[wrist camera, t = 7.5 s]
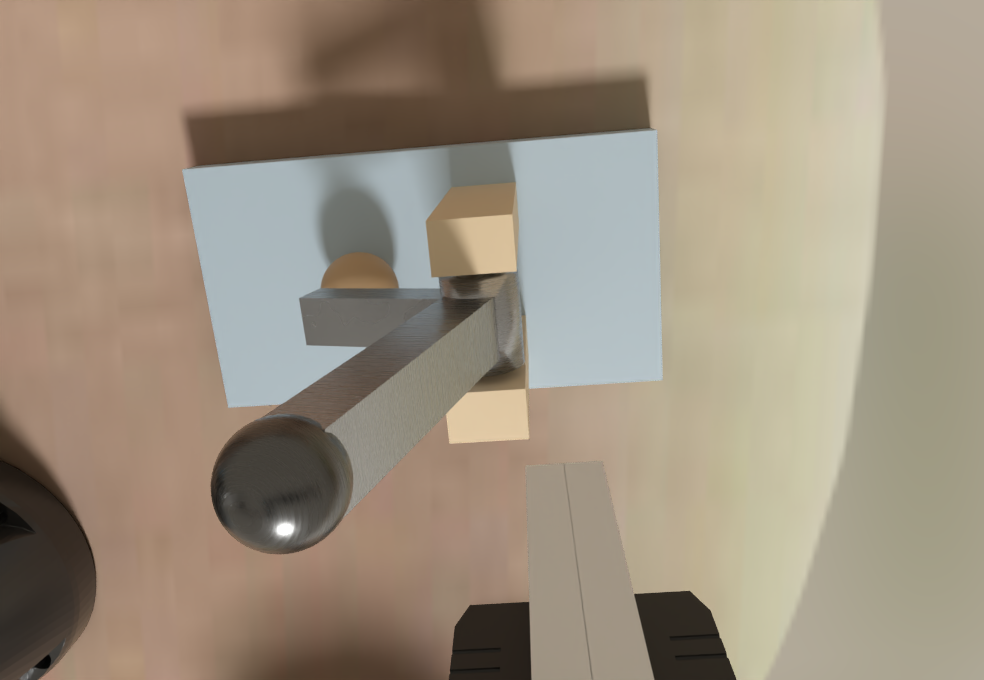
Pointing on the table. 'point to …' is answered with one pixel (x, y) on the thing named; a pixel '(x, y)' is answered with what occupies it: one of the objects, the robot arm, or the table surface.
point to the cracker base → (390, 222)
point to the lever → (363, 403)
